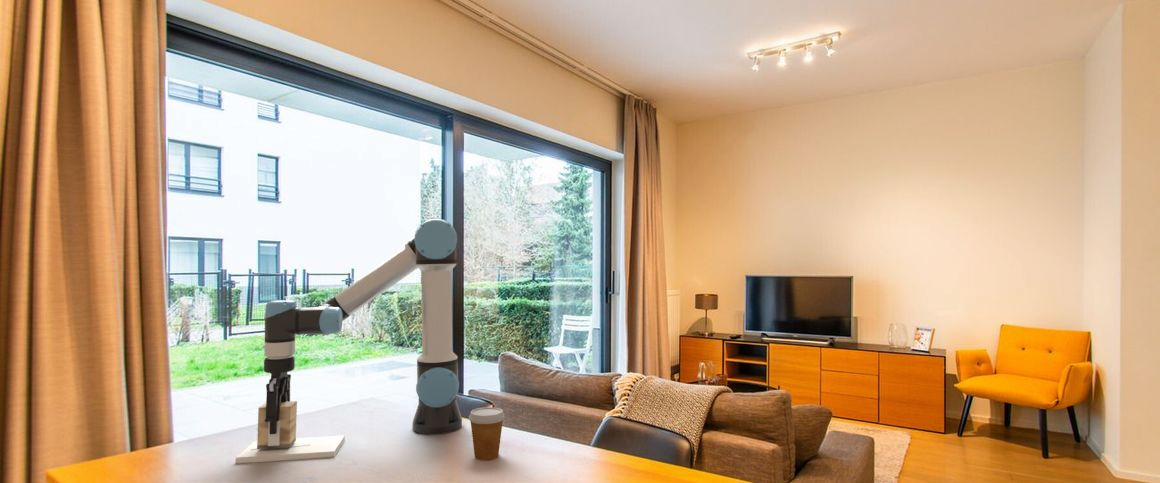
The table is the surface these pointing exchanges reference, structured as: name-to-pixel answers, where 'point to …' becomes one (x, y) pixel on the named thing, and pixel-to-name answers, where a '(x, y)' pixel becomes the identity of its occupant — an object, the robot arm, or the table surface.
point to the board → (294, 450)
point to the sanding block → (286, 426)
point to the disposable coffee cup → (486, 432)
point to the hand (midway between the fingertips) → (277, 441)
